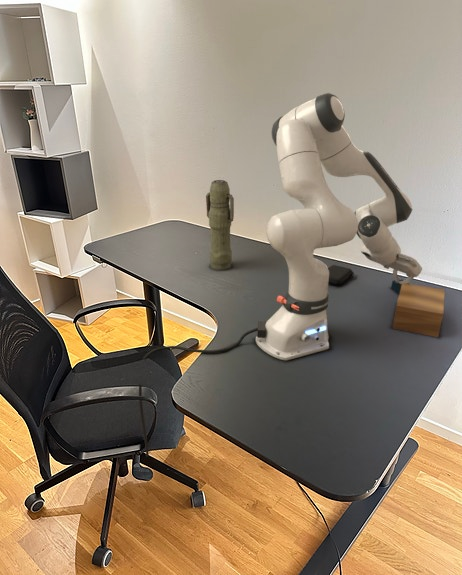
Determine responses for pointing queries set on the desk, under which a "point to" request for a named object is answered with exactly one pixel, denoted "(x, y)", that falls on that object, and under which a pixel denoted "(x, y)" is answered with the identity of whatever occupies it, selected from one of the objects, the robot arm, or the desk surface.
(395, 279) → the watch
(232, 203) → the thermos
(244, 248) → the desk surface
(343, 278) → the carrying case
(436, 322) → the wooden display stand
